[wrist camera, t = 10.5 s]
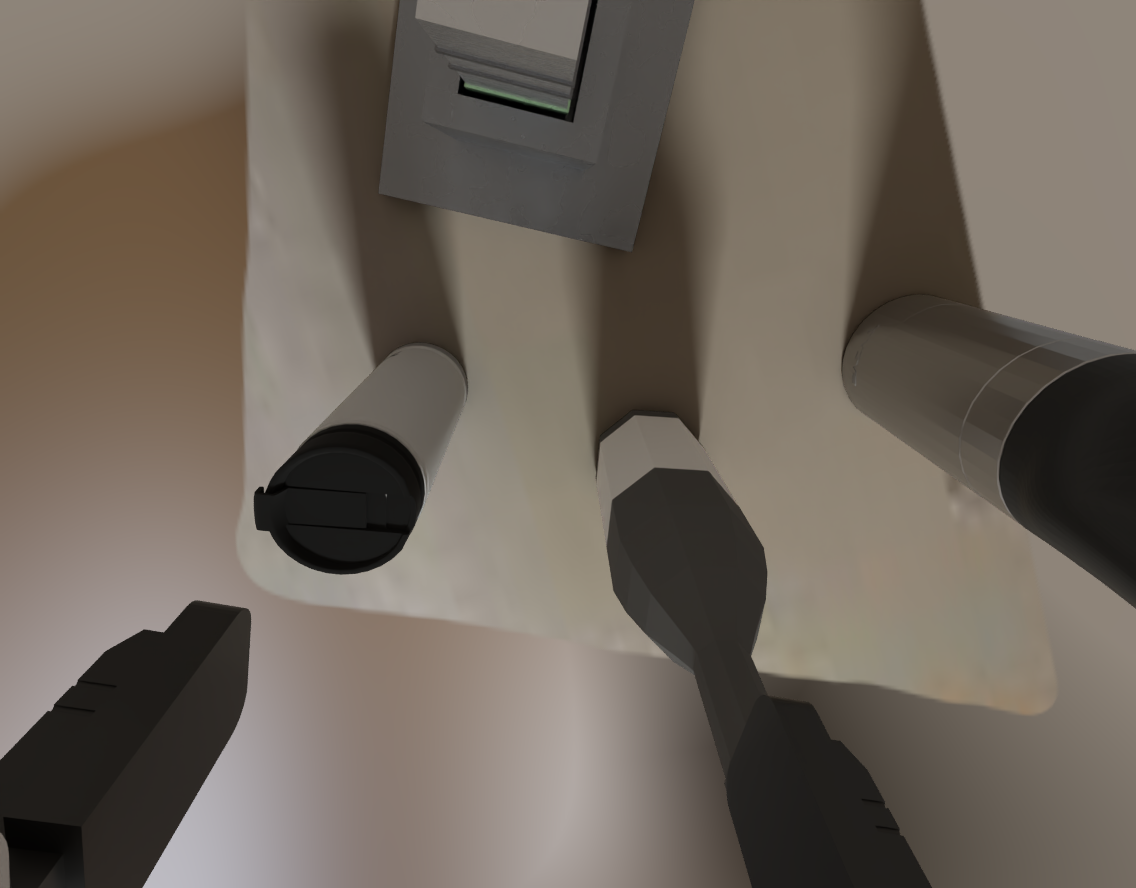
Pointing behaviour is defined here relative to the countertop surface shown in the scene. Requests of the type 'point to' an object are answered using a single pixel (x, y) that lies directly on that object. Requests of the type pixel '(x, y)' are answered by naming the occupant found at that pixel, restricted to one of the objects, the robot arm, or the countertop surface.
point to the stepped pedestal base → (539, 129)
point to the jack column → (511, 48)
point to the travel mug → (367, 465)
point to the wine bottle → (684, 562)
